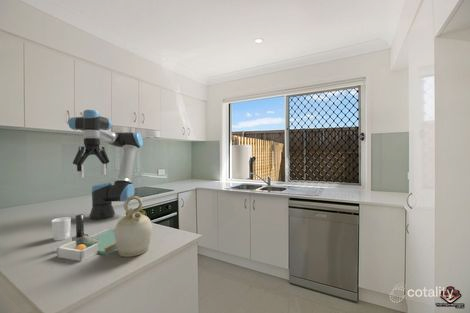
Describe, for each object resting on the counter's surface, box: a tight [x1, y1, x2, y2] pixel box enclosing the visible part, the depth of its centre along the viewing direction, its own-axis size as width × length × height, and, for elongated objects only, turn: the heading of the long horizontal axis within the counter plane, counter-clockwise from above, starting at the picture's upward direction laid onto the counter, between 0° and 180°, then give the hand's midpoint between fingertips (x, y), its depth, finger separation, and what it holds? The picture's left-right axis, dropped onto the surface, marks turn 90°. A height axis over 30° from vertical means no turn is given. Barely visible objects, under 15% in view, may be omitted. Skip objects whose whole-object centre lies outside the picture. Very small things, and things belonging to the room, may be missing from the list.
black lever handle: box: [71, 213, 100, 244], centre depth 102 cm, size 5×14×12 cm, turn 74°
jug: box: [114, 195, 153, 258], centre depth 97 cm, size 15×16×25 cm
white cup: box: [51, 216, 72, 241], centre depth 112 cm, size 8×8×10 cm
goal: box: [56, 240, 99, 262], centre depth 93 cm, size 8×14×4 cm, turn 74°
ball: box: [75, 244, 86, 250], centre depth 95 cm, size 4×4×4 cm
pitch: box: [76, 227, 118, 255], centre depth 108 cm, size 22×24×3 cm
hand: (92, 176), depth 120 cm, fingers open, 13 cm apart
